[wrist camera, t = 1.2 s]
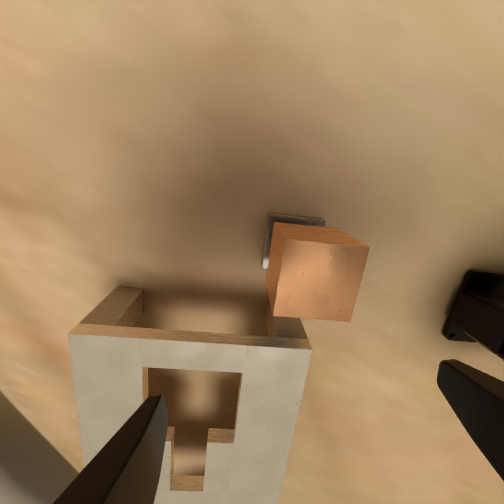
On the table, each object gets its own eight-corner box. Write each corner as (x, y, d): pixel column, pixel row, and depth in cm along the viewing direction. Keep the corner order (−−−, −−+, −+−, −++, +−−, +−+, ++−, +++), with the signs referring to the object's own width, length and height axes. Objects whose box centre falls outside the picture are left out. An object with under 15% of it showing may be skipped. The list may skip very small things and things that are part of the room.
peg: (320, 218, 19) (369, 247, 12) (311, 268, 20) (349, 321, 13) (268, 212, 19) (285, 239, 12) (261, 263, 20) (273, 315, 13)
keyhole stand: (292, 300, 21) (312, 349, 15) (264, 455, 26) (271, 533, 21) (117, 286, 20) (67, 333, 14) (125, 450, 25) (92, 532, 20)
